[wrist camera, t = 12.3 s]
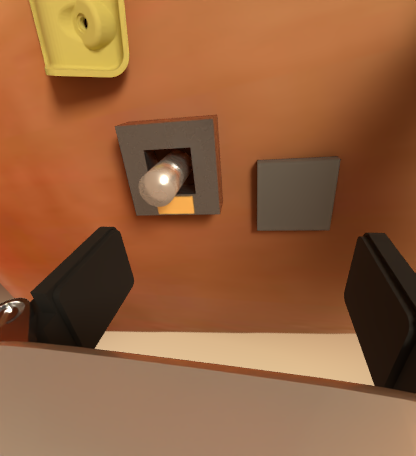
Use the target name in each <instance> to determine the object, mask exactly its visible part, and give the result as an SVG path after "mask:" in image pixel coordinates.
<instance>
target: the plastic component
mask: <svg viewBox="0 0 416 456" xmlns="http://www.w3.org/2000/svg"><path fill="white" fill-rule="evenodd" d="M29 2H30V6H31V10H32V14H33V18H34V21H35V25H36V29H37V33H38V37H39V41H40V45H41V49H42V53H43V57H44V62H45V72H46V75H52V76H79V77H116V76H118V75H120V74H121V73H122V72H123V71H124V70H125V69H126V67H127V65H128V62H129V47H128V36H127V26H126V16H125V6H124V0H29ZM85 19H86V21H87V23H88V27H87V29H86V28H85V25H84V20H85Z"/></svg>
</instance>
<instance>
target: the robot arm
mask: <svg viewBox="0 0 416 456" xmlns="http://www.w3.org/2000/svg"><path fill="white" fill-rule="evenodd" d="M133 284H134V278H133V274H132V271H131V267H130V264H129V261H128V257H127V254H126V250H125V247H124V244H123V240H122V237H121V234H120V232H119V231H118V230H117V229H116V228H115V227H100V228H98V229H97V230H96V231H95V232H94V233H93V234H92V235H91V236H90V237H89V238H88V239H87V240H85V241H84V242H83V243H82V244H81V245H80V246H79V247H78V248H77V249H76V250H75V251H74V252H73V253H72V254H71V255H70V256H69V257H67V258H66V259H65V260H64V261H63V262H62V263H61V264H60V265H59V266H58V267H57V268H56V269H55V270H54V271H53V272H52V273H50V274H49V275H48V276H47V277H46V278H45V279H44V280H43V281H42V282H41V283H40V284H39V285H38V286H37V287H36V288H35V289H33V290H32V291H31V292H30V293H31V294H32V296H33V298H34V299H33V300H32V301H31V302H29V300H27V299H25V298H14V299H11V300H7V301H5V302H3V303H1V304H0V456H416V273H415V272H414V271H413V270H412V269H411V267H410V266H409V265H408V263H407V262H406V261H405V259H404V258H403V257H402V255H401V254H400V253H399V251H398V250H397V249H396V247H395V246H394V245H393V243H392V242H391V241H390V239H389V238H388V237H387V235H386V234H385V233H365V234H364V235H363V237H358V239H357V243H356V247H355V251H354V255H353V259H352V263H351V267H350V271H349V275H348V280H347V284H346V288H345V292H344V299H345V303H346V306H347V309H348V312H349V315H350V317H351V320H352V323H353V326H354V329H355V332H356V334H357V337H358V340H359V343H360V346H361V348H362V351H363V354H364V357H365V360H366V363H367V365H368V368H369V371H370V374H371V377H372V380H373V382H374V385H375V386H371V385H364V384H358V383H351V382H344V381H337V380H331V379H323V378H317V377H310V376H301V375H294V374H287V373H278V372H272V371H264V370H257V369H249V368H242V367H234V366H226V365H219V364H211V363H203V362H195V361H188V360H180V359H172V358H164V357H156V356H148V355H140V354H132V353H124V352H116V351H107V350H99V349H95V347H96V345H97V344H98V342H99V340H100V339H101V337H102V336H103V334H104V332H105V331H106V329H107V327H108V326H109V324H110V323H111V321H112V319H113V318H114V316H115V314H116V313H117V311H118V310H119V308H120V306H121V305H122V303H123V301H124V300H125V298H126V296H127V295H128V293H129V292H130V290H131V288H132V287H133Z"/></svg>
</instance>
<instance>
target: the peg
mask: <svg viewBox="0 0 416 456" xmlns="http://www.w3.org/2000/svg"><path fill="white" fill-rule="evenodd" d="M192 168H193V165H192V160H191V158H190V156H189V155H188V154H187V153H186V152H184V151H181V150H174V151H171V152H170V153H169V154H168V155H166V156H165V157H164V158H163V159H162V160H161V161H160V162H158V163H157V164H156V165H155V166H154V167H153V168H152V169H150V170H149V171H148V172H147V173H146V174H145V175H143V176H142V178H141V179H140V181H139V192H140V195H141V196H142V198H143V199H144V200H145V201H146V202H147V203H148V204H150V205H152V206H156V207H162V206H166V205H168V204H169V203H170V202H171V201H172V200H173V198H174V197H175V195H176V194H177V192H178V191H179V189H180V188H181V186H182V185H183V183H184V182H185V180H186V179H187V177H188V176H189V174H190V173H191V171H192Z"/></svg>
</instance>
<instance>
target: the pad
mask: <svg viewBox="0 0 416 456" xmlns="http://www.w3.org/2000/svg"><path fill="white" fill-rule="evenodd" d="M340 160H341V159H340V158H339V157H337V156H333V157H313V158H293V159H272V160H257V231H276V230H330V224H331V217H332V211H333V205H334V198H335V192H336V186H337V179H338V173H339V167H340Z"/></svg>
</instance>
